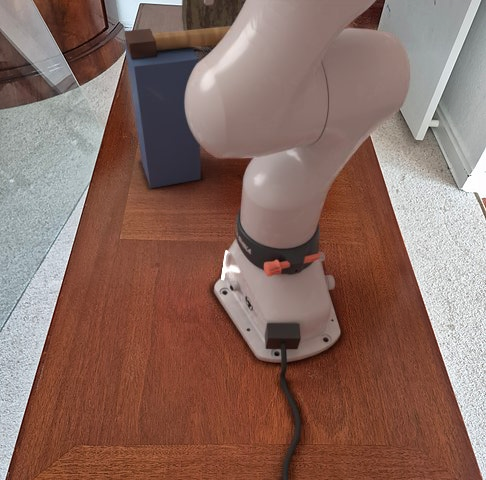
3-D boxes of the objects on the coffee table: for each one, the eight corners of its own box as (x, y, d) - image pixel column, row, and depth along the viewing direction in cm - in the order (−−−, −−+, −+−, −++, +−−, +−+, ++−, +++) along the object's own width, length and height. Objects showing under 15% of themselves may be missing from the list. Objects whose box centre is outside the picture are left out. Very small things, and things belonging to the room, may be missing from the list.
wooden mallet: (235, 35, 76) (235, 20, 75) (242, 47, 74) (243, 31, 72) (126, 46, 72) (124, 30, 70) (131, 59, 70) (129, 43, 68)
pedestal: (200, 179, 91) (198, 59, 71) (150, 188, 88) (134, 66, 69) (190, 154, 95) (185, 34, 76) (141, 162, 93) (124, 40, 73)
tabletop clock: (239, 48, 122) (245, -66, 102) (240, 66, 117) (247, -50, 97) (184, 46, 121) (180, -70, 101) (183, 64, 116) (178, -54, 96)
